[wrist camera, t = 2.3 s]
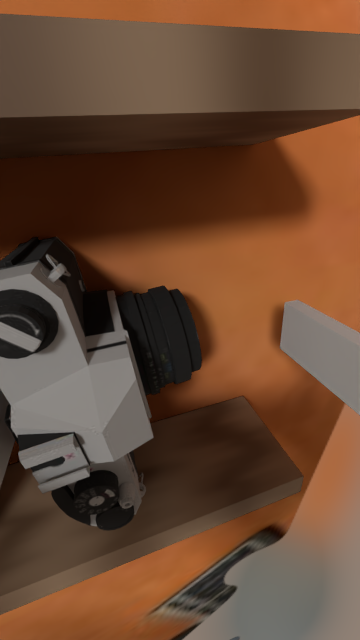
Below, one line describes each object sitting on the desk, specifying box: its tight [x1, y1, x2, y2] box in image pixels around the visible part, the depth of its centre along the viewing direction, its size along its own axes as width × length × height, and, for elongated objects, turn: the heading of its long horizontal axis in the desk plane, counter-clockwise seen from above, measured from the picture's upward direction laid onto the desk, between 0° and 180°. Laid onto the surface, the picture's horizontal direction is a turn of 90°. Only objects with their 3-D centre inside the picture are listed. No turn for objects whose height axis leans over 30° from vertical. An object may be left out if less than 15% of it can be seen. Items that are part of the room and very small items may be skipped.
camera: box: [0, 237, 202, 531], centre depth 12 cm, size 13×8×9 cm, turn 12°
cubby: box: [0, 14, 360, 615], centre depth 12 cm, size 20×20×7 cm
